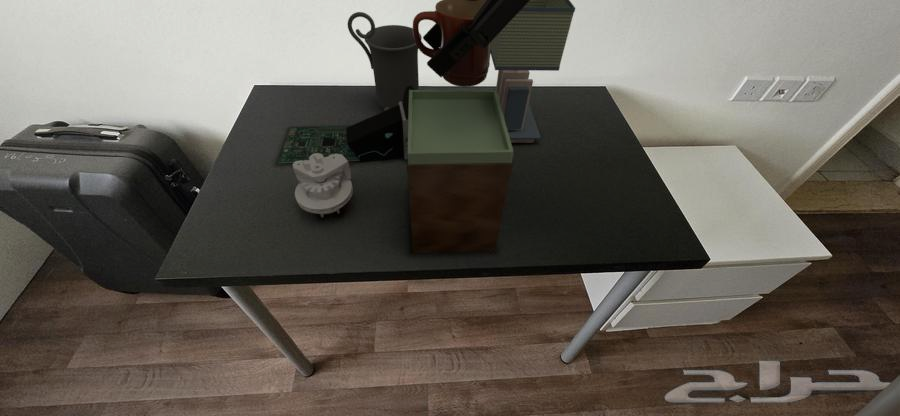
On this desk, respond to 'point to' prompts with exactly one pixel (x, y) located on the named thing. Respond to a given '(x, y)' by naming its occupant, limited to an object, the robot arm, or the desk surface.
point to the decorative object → (382, 133)
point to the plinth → (456, 205)
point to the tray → (457, 128)
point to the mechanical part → (323, 183)
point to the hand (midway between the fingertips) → (431, 56)
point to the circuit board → (316, 143)
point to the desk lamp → (528, 59)
